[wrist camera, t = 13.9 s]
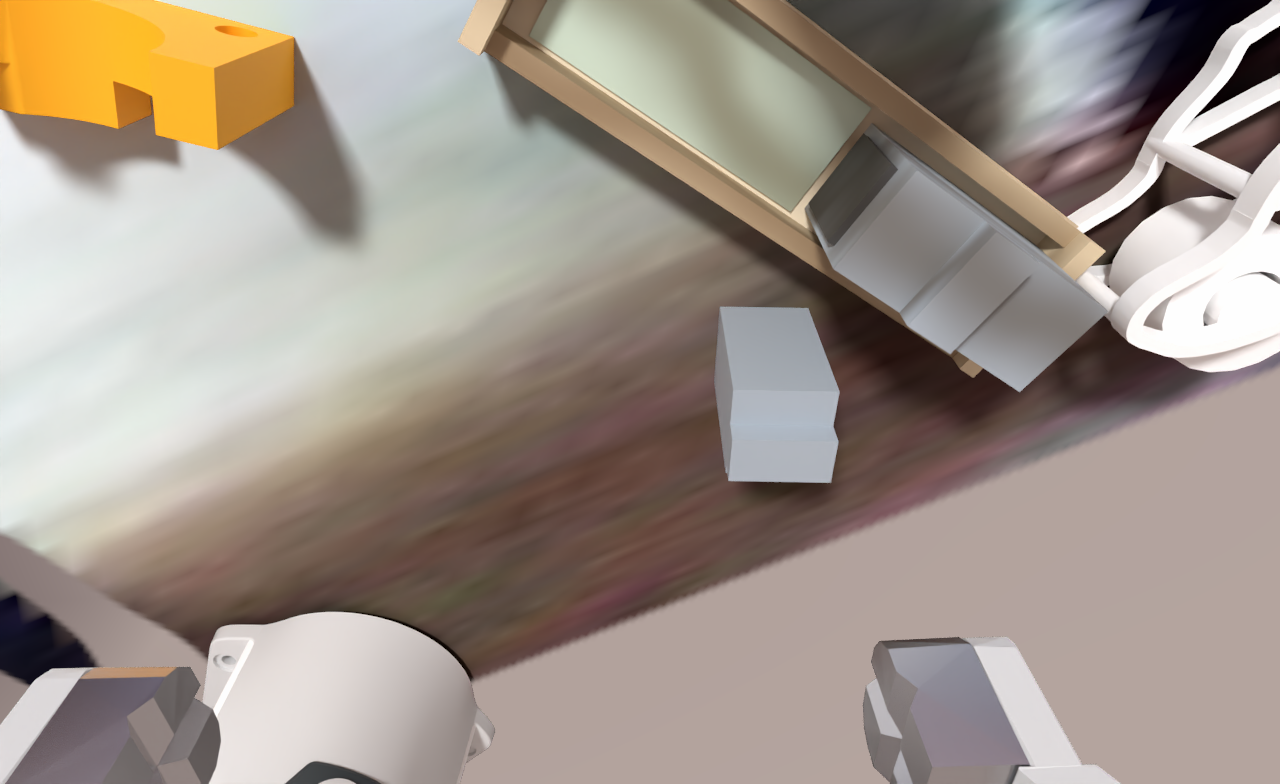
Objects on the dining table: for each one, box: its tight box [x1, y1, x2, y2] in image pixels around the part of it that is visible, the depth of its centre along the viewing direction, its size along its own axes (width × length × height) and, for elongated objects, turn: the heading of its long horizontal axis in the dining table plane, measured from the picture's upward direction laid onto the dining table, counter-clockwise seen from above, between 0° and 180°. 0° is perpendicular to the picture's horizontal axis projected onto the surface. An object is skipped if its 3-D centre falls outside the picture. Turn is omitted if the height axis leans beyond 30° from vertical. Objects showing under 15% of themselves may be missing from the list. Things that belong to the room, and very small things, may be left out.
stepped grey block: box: [714, 307, 839, 483], centre depth 33 cm, size 4×4×8 cm
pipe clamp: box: [0, 0, 294, 150], centre depth 27 cm, size 12×4×6 cm, turn 76°
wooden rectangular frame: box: [458, 0, 1108, 392], centre depth 27 cm, size 7×24×8 cm, turn 57°
